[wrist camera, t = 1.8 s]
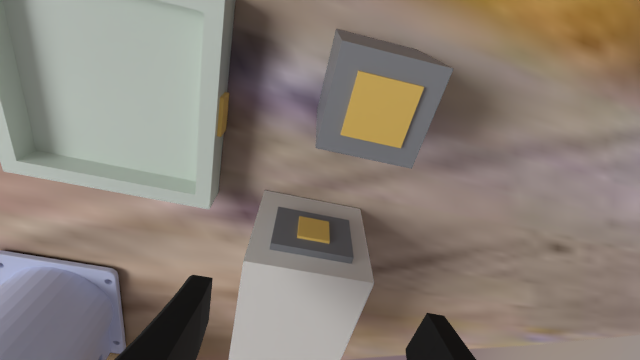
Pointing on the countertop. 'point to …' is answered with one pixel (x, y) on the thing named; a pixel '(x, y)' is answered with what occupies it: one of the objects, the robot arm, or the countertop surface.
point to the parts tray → (117, 94)
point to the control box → (301, 281)
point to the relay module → (378, 99)
